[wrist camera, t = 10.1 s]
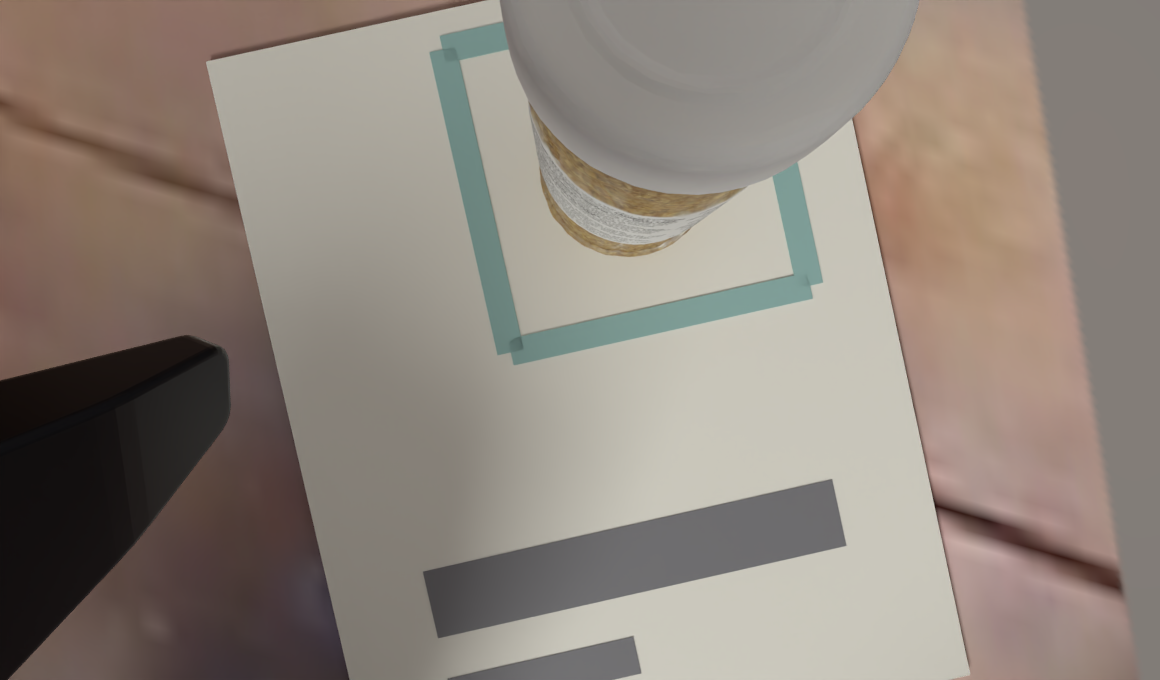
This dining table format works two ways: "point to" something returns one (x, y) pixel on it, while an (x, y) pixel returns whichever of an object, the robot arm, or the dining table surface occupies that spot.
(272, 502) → the dining table surface
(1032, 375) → the dining table surface
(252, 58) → the paper sheet
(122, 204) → the dining table surface
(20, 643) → the robot arm
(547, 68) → the sprinkles bottle
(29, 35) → the dining table surface
